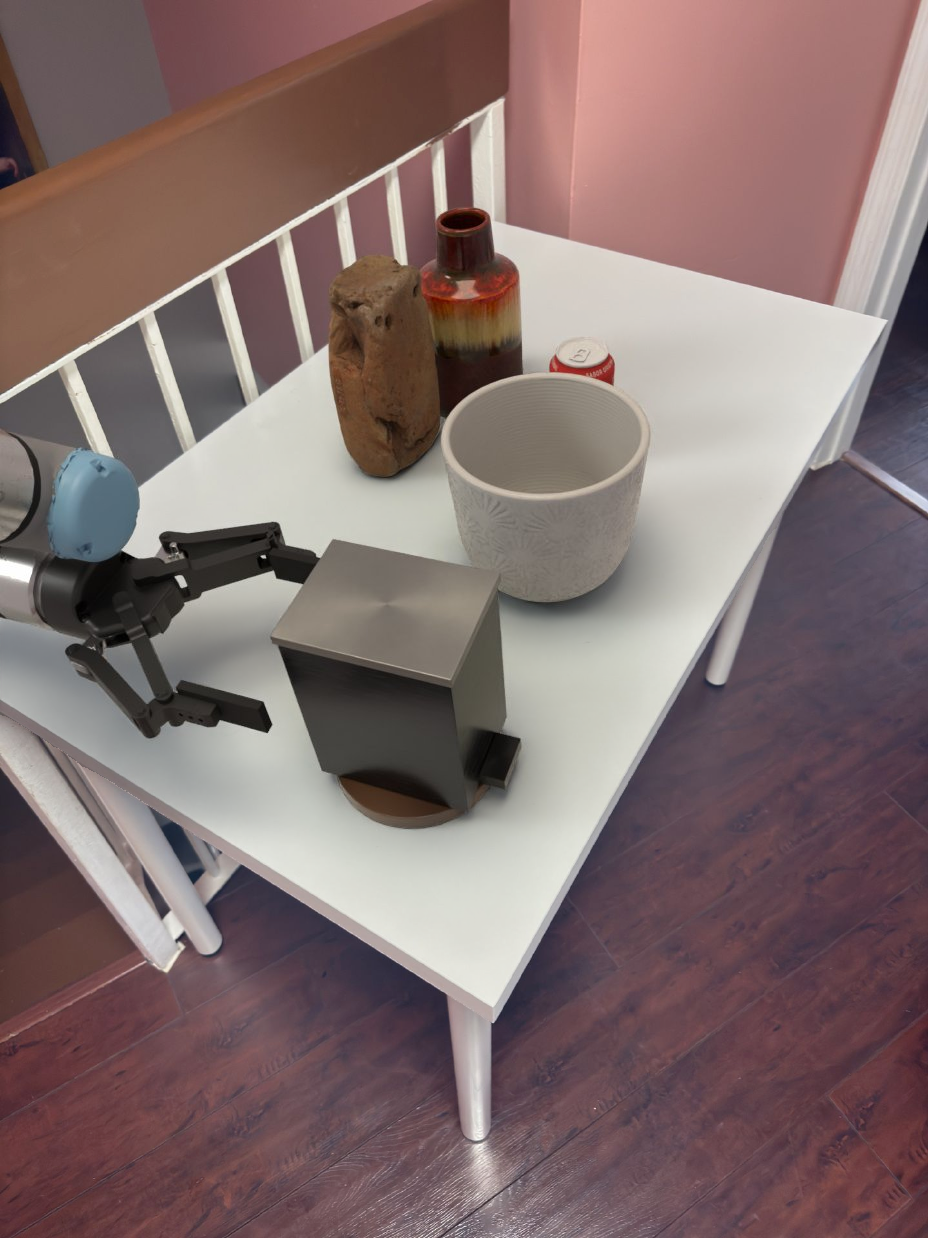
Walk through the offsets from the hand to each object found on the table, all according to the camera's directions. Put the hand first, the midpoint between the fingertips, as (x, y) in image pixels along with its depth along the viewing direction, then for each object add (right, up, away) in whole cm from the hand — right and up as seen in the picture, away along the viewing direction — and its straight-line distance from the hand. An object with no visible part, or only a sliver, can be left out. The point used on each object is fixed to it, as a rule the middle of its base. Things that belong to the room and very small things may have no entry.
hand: (310, 644), depth 66 cm
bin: (+8, -8, +4) cm, 12 cm away
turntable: (+8, -9, +6) cm, 13 cm away
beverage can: (+23, +19, +30) cm, 43 cm away
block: (+4, +20, +32) cm, 38 cm away
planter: (+19, +7, +19) cm, 28 cm away
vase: (+13, +27, +38) cm, 49 cm away
